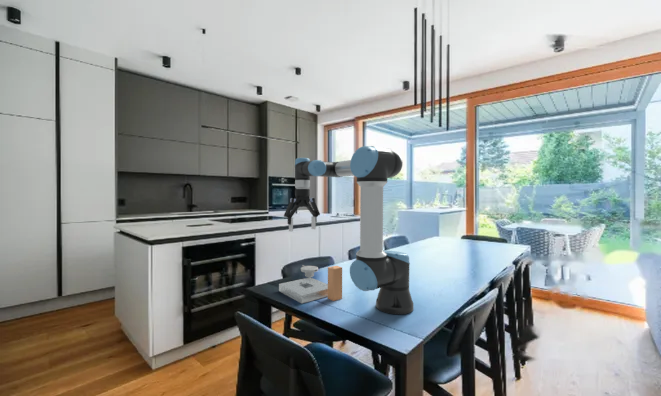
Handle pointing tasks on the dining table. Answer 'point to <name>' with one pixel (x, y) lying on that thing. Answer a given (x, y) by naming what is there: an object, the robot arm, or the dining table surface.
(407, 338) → the dining table surface
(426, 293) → the dining table surface
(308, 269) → the showerhead
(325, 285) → the plate
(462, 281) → the dining table surface
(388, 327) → the dining table surface
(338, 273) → the keyed peg
